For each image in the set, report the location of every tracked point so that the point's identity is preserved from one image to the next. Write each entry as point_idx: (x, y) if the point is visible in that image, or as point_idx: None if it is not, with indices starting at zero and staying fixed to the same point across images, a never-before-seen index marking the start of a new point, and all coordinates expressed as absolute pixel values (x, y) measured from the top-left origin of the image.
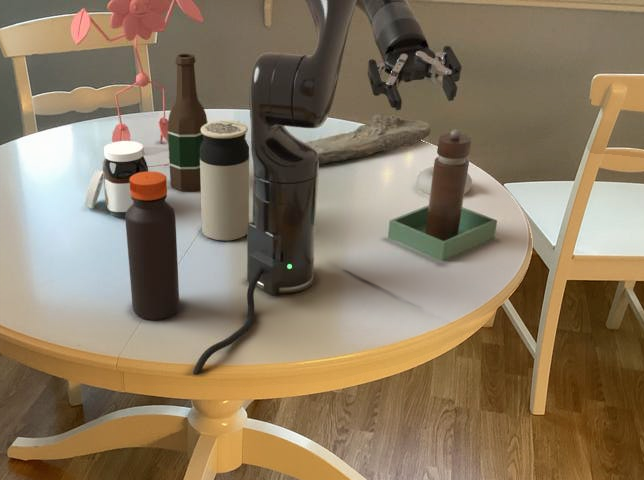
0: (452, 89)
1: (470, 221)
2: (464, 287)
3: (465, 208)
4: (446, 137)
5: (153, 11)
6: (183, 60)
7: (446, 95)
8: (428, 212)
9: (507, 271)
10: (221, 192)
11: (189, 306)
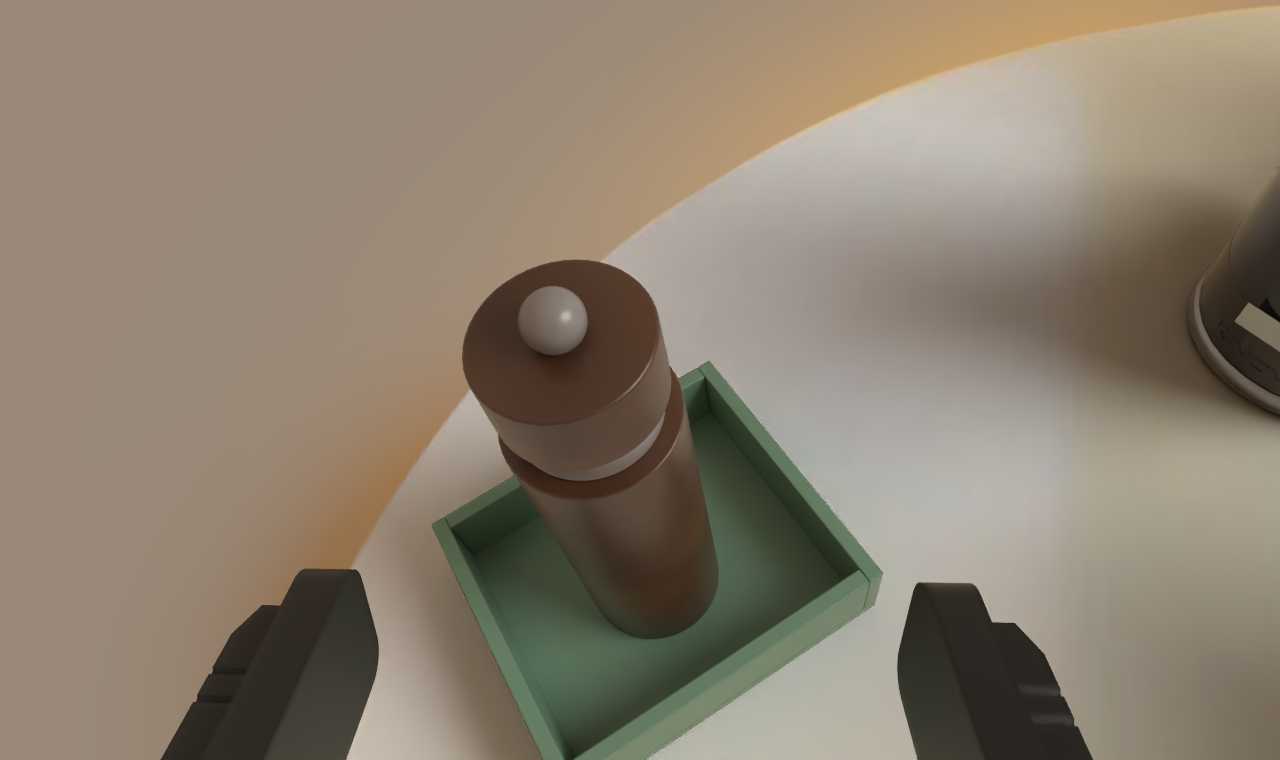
0: (320, 575)
1: (503, 625)
2: (692, 276)
3: (498, 660)
4: (604, 354)
5: None
6: None
7: (349, 736)
8: (709, 535)
9: None
10: None
11: None
